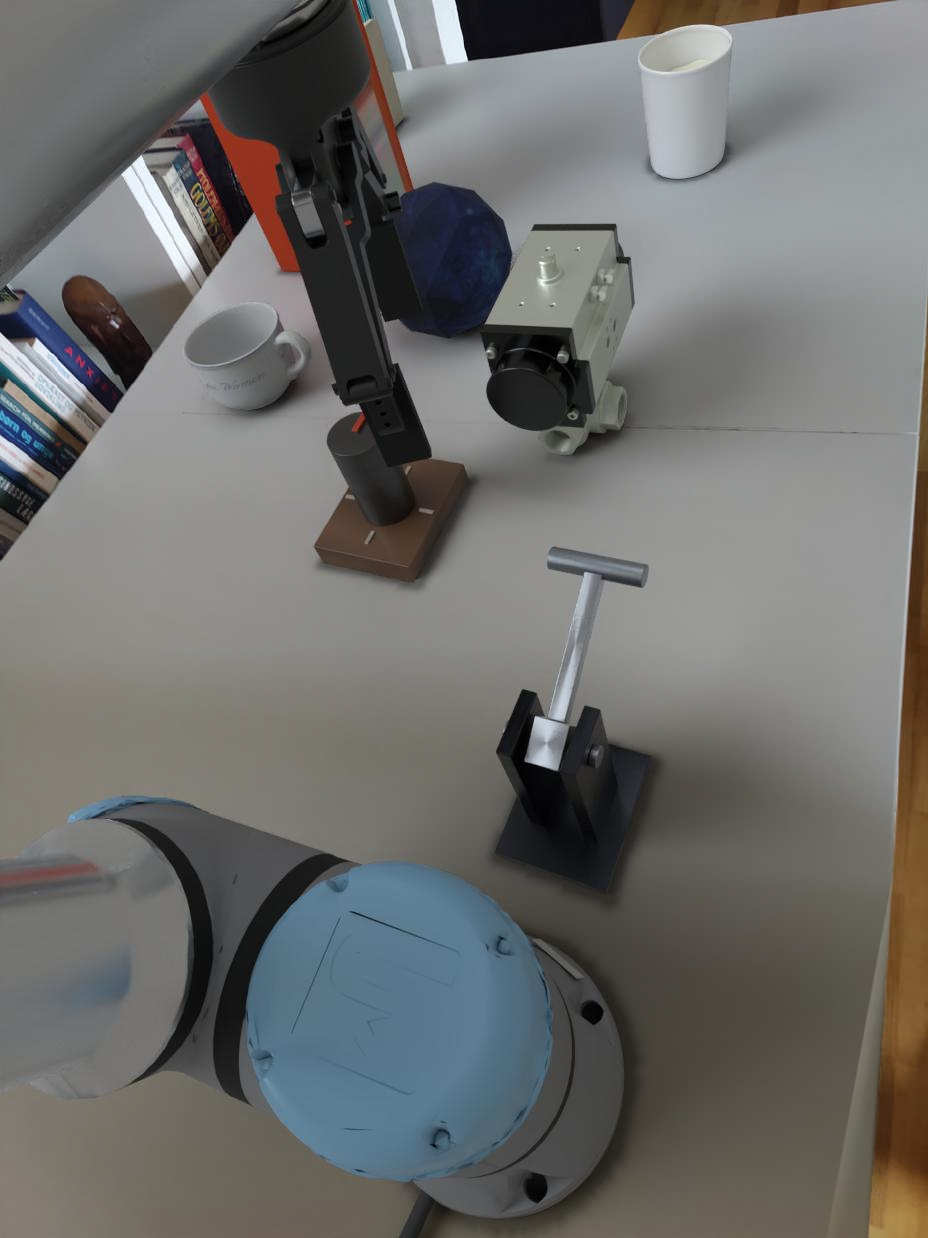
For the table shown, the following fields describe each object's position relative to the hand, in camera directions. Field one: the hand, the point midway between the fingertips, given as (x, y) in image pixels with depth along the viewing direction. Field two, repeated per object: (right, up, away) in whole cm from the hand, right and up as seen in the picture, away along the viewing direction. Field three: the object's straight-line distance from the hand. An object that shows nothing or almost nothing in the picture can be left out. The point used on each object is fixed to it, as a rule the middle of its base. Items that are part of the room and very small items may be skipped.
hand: (406, 381), depth 54 cm
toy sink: (-10, +54, +67) cm, 87 cm away
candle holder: (+30, +39, +46) cm, 67 cm away
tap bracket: (+12, -28, +6) cm, 31 cm away
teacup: (-18, +10, +40) cm, 45 cm away
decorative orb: (+3, +18, +40) cm, 44 cm away
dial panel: (-3, -6, +25) cm, 26 cm away
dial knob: (-3, -5, +23) cm, 24 cm away
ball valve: (+15, +3, +26) cm, 31 cm away
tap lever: (+11, -18, -2) cm, 21 cm away
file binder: (-10, +30, +52) cm, 61 cm away
